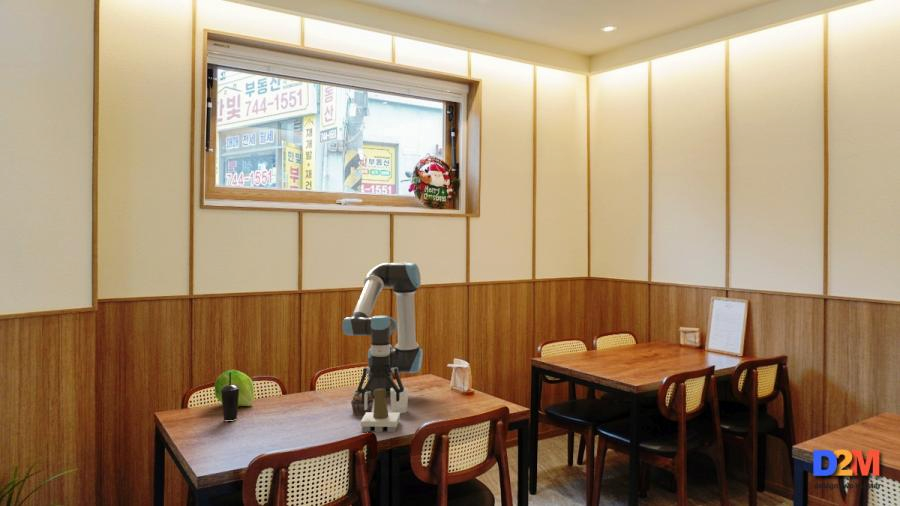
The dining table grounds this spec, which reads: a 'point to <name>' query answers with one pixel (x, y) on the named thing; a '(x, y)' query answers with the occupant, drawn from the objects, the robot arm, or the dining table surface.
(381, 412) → the cork
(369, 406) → the cupcake
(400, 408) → the white cup
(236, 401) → the drinking cup
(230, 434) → the dining table surface
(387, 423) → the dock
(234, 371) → the lettuce
